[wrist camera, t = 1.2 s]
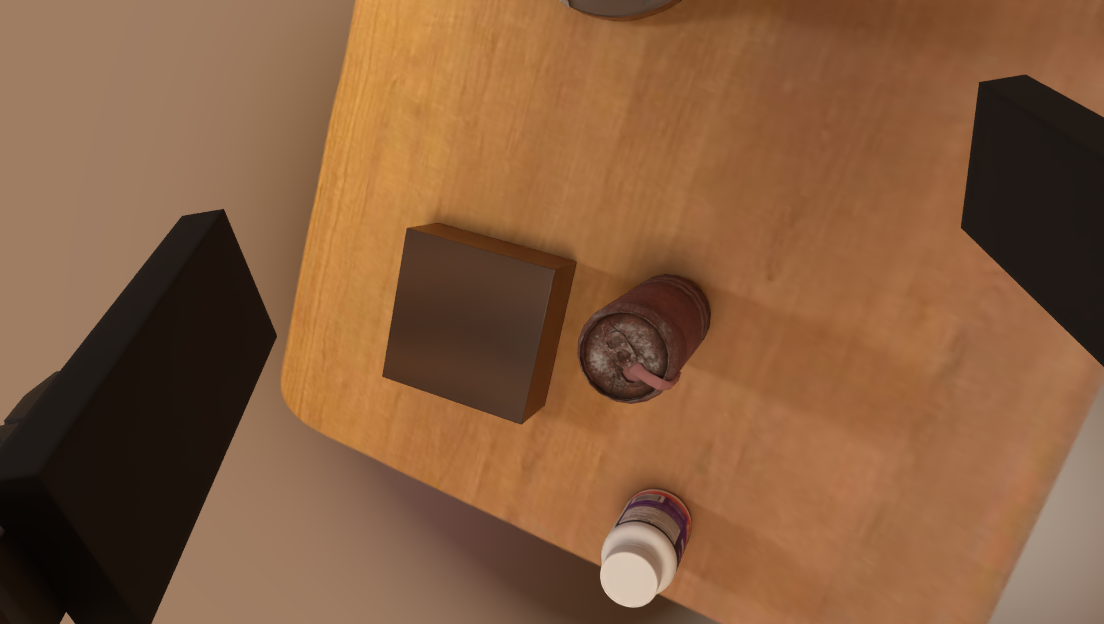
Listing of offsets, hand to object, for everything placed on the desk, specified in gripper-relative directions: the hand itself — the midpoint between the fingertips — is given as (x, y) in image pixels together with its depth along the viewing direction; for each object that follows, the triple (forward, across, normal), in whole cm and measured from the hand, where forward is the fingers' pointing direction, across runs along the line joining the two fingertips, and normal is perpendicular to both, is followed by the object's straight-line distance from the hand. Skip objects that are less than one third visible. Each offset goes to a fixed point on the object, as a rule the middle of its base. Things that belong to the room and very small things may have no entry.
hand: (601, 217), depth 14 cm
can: (+37, +5, -27) cm, 46 cm away
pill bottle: (+31, +2, -42) cm, 53 cm away
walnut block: (+42, -9, -28) cm, 51 cm away
